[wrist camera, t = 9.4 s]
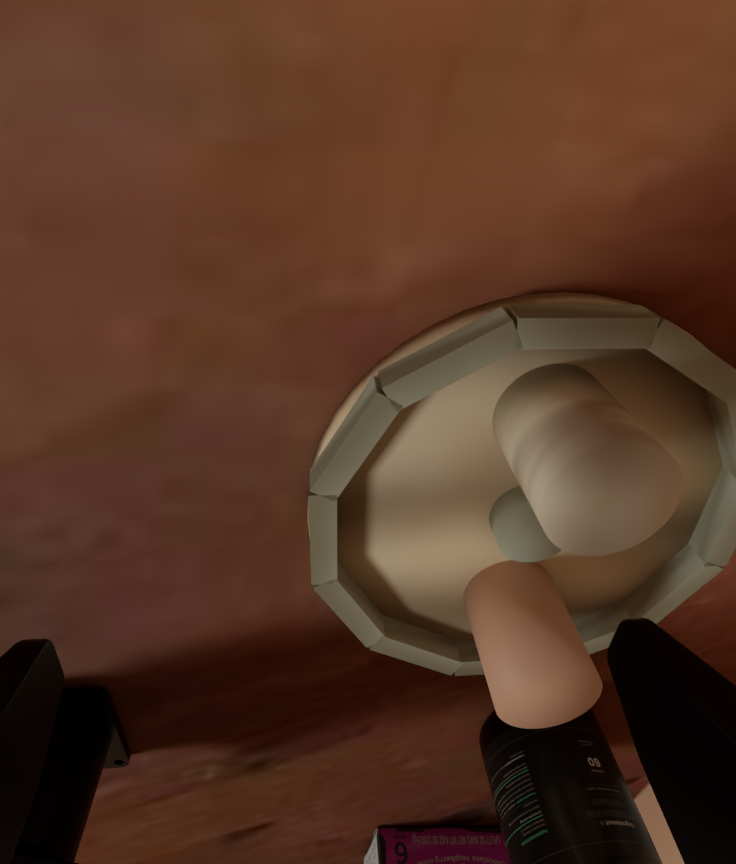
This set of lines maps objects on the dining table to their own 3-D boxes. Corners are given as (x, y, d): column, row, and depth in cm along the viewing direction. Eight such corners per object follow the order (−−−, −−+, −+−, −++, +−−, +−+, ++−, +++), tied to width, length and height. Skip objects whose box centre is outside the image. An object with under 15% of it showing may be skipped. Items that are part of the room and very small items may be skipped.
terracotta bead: (542, 620, 26) (587, 725, 21) (458, 624, 25) (487, 732, 21) (560, 557, 24) (615, 660, 19) (469, 561, 23) (504, 666, 19)
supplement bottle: (616, 706, 32) (757, 993, 22) (538, 764, 35) (631, 1043, 25) (529, 675, 30) (642, 981, 19) (453, 740, 32) (517, 1037, 22)
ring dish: (653, 625, 28) (677, 663, 26) (313, 644, 27) (313, 686, 25) (805, 292, 19) (858, 314, 17) (299, 291, 18) (298, 315, 16)
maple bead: (615, 362, 19) (704, 442, 15) (588, 459, 21) (658, 553, 17) (501, 364, 18) (558, 445, 14) (484, 462, 21) (529, 559, 16)
